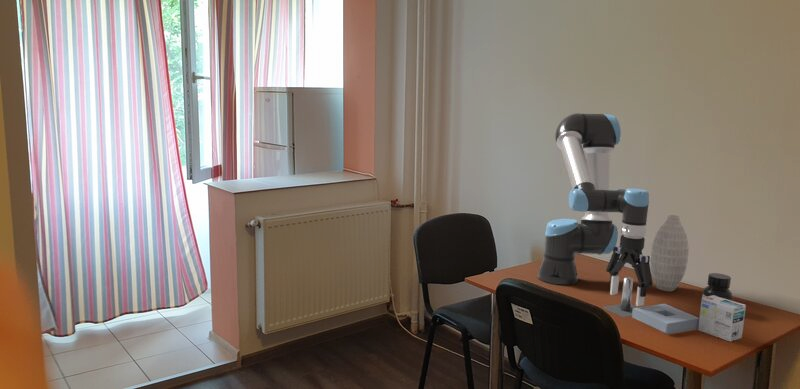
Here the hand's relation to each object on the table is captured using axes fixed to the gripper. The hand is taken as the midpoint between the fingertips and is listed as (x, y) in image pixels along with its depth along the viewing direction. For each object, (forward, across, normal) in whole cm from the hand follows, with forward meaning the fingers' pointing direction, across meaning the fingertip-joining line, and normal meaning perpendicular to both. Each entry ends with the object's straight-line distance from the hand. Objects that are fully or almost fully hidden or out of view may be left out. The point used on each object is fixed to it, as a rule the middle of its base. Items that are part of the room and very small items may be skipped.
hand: (626, 299), depth 208 cm
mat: (+4, 0, 0) cm, 4 cm away
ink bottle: (+4, +9, +32) cm, 34 cm away
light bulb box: (+4, +25, +14) cm, 29 cm away
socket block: (+4, +13, +4) cm, 14 cm away
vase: (+4, -14, +33) cm, 36 cm away
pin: (+4, 0, 0) cm, 4 cm away
